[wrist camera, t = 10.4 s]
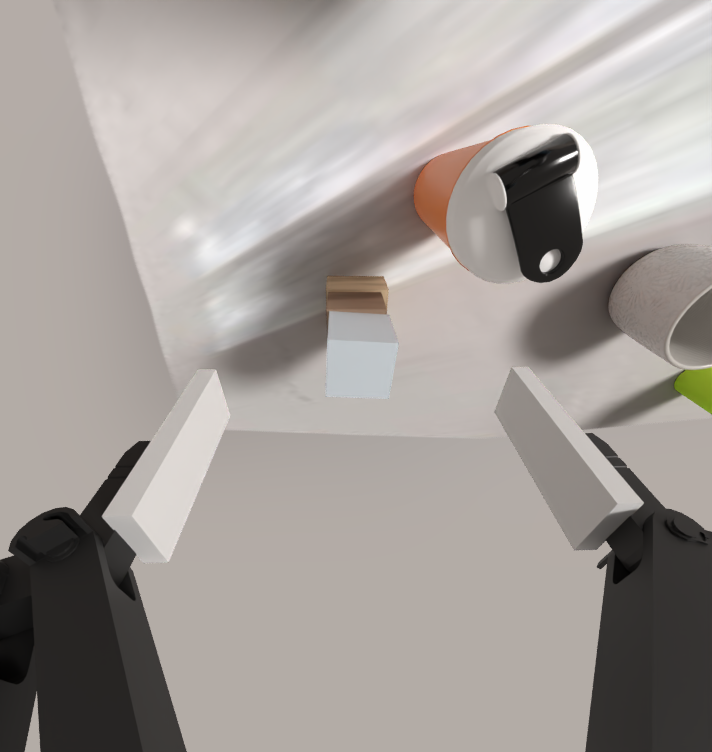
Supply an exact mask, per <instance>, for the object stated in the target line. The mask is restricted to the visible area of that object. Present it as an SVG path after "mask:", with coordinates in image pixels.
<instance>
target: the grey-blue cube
mask: <svg viewBox="0 0 712 752" xmlns="http://www.w3.org/2000/svg"><path fill="white" fill-rule="evenodd" d="M398 345H399V342H398V339H397V336H396V333H395V330H394V327H393V324H392V321H391V318H390V315H388V314H371V313H354V312H337V311H329V323H328V338H327V367H326V397H349V398H377V399H389V395H390V389H391V384H392V378H393V373H394V367H395V362H396V356H397V351H398Z"/></svg>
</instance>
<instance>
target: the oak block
mask: <svg viewBox="0 0 712 752" xmlns="http://www.w3.org/2000/svg"><path fill="white" fill-rule="evenodd" d="M328 292H381V293H382V296H383V299H384V302H385V305H386V308H387V302H388V287H387V284H386V282H385V279H384V277H383V276H327V284H326V306H327V295H328Z"/></svg>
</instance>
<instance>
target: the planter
mask: <svg viewBox="0 0 712 752" xmlns="http://www.w3.org/2000/svg"><path fill="white" fill-rule="evenodd" d="M609 314H610V316H611V319H612V320H613V322H614V323H615V324H616V325H617V326H618V327H619V328H620V329H621V330H622V331H623V332H624V333H626V334H627V335H628V336H630V337H631V338H632V339H634V340H635V341H637V342H638V343H640V344H641V345H643V346H644V347H646V348H647V349H649V350H650V351H652V352H653V353H655V354H656V355H658V356H659V357H661V358H662V359H664V360H665V361H667V362H668V363H670V364H671V365H673V366H675V367H677V368H680V369H686V370H699V369H706V368H711V367H712V246H706V245H694V244H681V245H673V246H668V247H664V248H661V249H658V250H656V251H653V252H651V253H649V254H647V255H646V256H644V257H642V258H641V259H639V260H638V261H636V262H635V263H634V264H633V265H631V266H630V267H629V268H628V269H627V270H626V271H625V272H624V273H623V275H622V276H621V277H620V278H619V280H618V281H617V283H616V284H615V286H614V288H613V290H612V292H611V295H610V298H609Z"/></svg>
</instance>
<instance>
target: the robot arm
mask: <svg viewBox="0 0 712 752" xmlns="http://www.w3.org/2000/svg"><path fill="white" fill-rule="evenodd" d="M495 414H496V416H497V417H498V419H499V421H500V422H501V424H502V426H503V428H504V429H505V431H506V433H507V435H508V436H509V438H510V440H511V442H512V443H513V445H514V447H515V449H516V450H517V452H518V454H519V455H520V457H521V459H522V461H523V462H524V464H525V466H526V468H527V469H528V471H529V473H530V474H531V476H532V478H533V480H534V482H535V483H536V485H537V487H538V488H539V490H540V492H541V494H542V495H543V497H544V499H545V501H546V502H547V504H548V505H549V507H550V509H551V511H552V513H553V515H554V516H555V518H556V519H557V521H558V523H559V525H560V527H561V528H562V530H563V532H564V534H565V535H566V537H567V539H568V541H569V542H570V544H571V546H572V547H573V549H574V550H596V549H598V548H599V547H600V546H601V545H602V543H604V542H605V541H607V542H608V544H609V545H610V547H611V548H612V551H611V552H609V554H608V555H606V556H605V557H604V558H603V559H602V560H601V561H600V562H599V563H598V565H597V568H599V569H601V568H603V567H604V566H605V565H606V564H607V570H606V578H605V588H604V596H603V605H602V613H601V622H600V630H599V639H598V647H597V648H598V649H597V657H596V665H595V673H594V682H593V690H592V700H591V708H590V717H589V725H588V734H587V742H586V751H585V752H712V532H710V531H706V530H704V528H702V527H701V526H700V525H699V524H698V523H697V522H695V521H694V520H693V519H691V518H689V517H688V516H686V515H684V514H682V513H680V512H677V511H674V510H672V509H666V508H665V507H664V506H663V505H662V504H661V503H660V502H659V501H658V500H657V499H656V498H655V497H654V495H653V494H652V493H651V492H650V491H649V490H648V489H647V488H646V486H645V485H644V484H643V483H642V482H641V481H640V480H639V479H638V478H637V476H636V475H635V474H634V473H633V472H632V471H631V470H630V469H629V468H627V465H626V464H625V463H624V462H623V461H622V460H621V459H620V458H618V455H617V454H616V453H615V452H614V451H613V450H612V449H611V448H610V446H609V445H608V444H607V443H605V442H604V441H603V440H601V439H600V438H598V437H597V436H595V435H594V434H593V433H584V432H583V431H582V429H581V428H580V427H579V426H578V425H577V424H576V422H575V421H574V420H573V419H572V418H571V416H570V415H569V414H568V413H567V412H566V411H565V409H564V408H563V407H562V406H561V405H560V404H559V402H558V401H557V400H556V399H555V398H554V396H553V395H552V394H551V393H550V392H549V391H548V389H547V388H546V387H545V386H544V385H543V384H542V382H541V381H540V380H539V379H538V378H537V376H536V375H535V374H534V373H533V372H532V371H531V369H530V368H529V367H512V368H511V370H510V373H509V375H508V378H507V381H506V383H505V386H504V388H503V391H502V394H501V396H500V399H499V401H498V404H497V406H496V409H495ZM229 417H230V413H229V409H228V406H227V403H226V400H225V397H224V393H223V390H222V387H221V384H220V381H219V378H218V374H217V371H216V369H198V370H197V372H196V373H195V375H194V376H193V378H192V379H191V381H190V382H189V384H188V385H187V387H186V388H185V390H184V391H183V393H182V395H181V396H180V398H179V399H178V401H177V402H176V404H175V405H174V407H173V408H172V410H171V411H170V413H169V414H168V416H167V418H166V419H165V420H164V422H163V424H162V425H161V427H160V428H159V430H158V431H157V433H156V434H155V436H154V437H153V439H152V440H151V441H139V442H137V443H136V444H135V445H134V446H132V447H131V448H130V449H129V450H128V451H126V452H125V453H124V455H123V456H122V458H121V459H120V460H119V462H118V463H117V465H116V468H114V469H113V470H112V472H111V473H110V474H109V476H108V479H107V480H105V481H104V483H103V484H102V485H101V487H100V488H99V490H98V491H97V493H96V494H95V495H94V497H93V498H92V500H91V501H90V502H89V504H88V505H87V506H86V508H85V509H84V511H83V512H82V513H81V515H79V514H78V513H77V512H76V511H75V510H74V509H71V508H67V507H63V508H55V509H52V510H50V511H47V512H44V513H42V514H40V515H39V516H37V517H35V518H34V519H32V520H31V521H29V522H28V523H27V524H26V525H25V526H23V527H22V528H21V529H20V530H19V531H18V532H17V534H16V535H15V536H14V538H13V539H12V541H11V543H10V547H9V550H8V551H9V552H11V553H12V554H14V556H11V557H8V558H5V559H2V560H0V752H24V751H25V746H26V741H27V736H28V731H29V726H30V722H31V717H32V712H33V707H34V701H35V697H36V692H37V696H38V697H37V698H38V715H39V733H40V749H41V752H187V751H186V748H185V745H184V741H183V738H182V734H181V731H180V728H179V724H178V721H177V718H176V714H175V711H174V708H173V705H172V701H171V697H170V694H169V691H168V687H167V684H166V681H165V677H164V674H163V671H162V667H161V664H160V661H159V657H158V654H157V650H156V647H155V644H154V640H153V637H152V634H151V630H150V627H149V624H148V621H147V617H146V613H145V611H144V607H143V603H142V600H141V597H140V593H139V590H138V586H137V583H136V580H135V577H134V573H133V571H132V570H131V568H130V566H131V564H132V562H133V560H134V558H135V556H137V557H138V558H139V559H140V560H141V561H142V562H143V563H168V562H169V560H170V558H171V555H172V553H173V550H174V548H175V546H176V543H177V541H178V539H179V536H180V534H181V531H182V529H183V527H184V524H185V522H186V520H187V517H188V515H189V512H190V510H191V507H192V505H193V503H194V500H195V498H196V496H197V493H198V491H199V489H200V486H201V484H202V481H203V479H204V477H205V474H206V472H207V470H208V467H209V465H210V463H211V460H212V458H213V455H214V453H215V451H216V448H217V446H218V443H219V441H220V439H221V436H222V434H223V432H224V429H225V427H226V425H227V422H228V420H229Z"/></svg>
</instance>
